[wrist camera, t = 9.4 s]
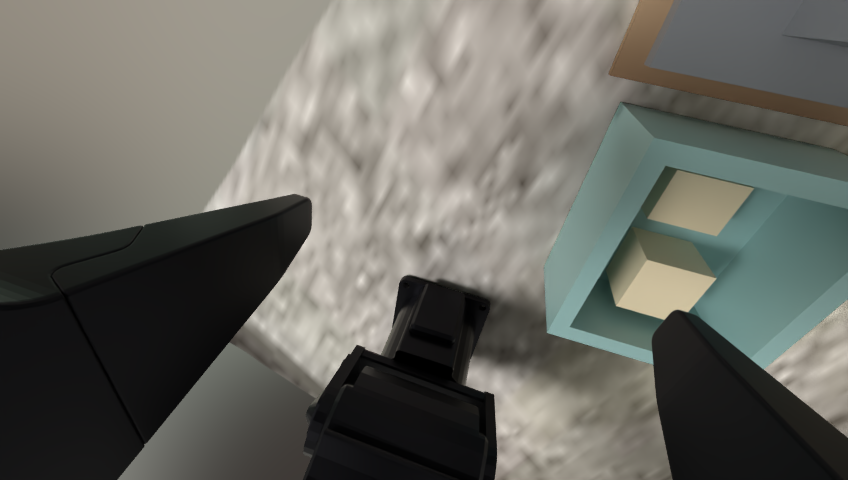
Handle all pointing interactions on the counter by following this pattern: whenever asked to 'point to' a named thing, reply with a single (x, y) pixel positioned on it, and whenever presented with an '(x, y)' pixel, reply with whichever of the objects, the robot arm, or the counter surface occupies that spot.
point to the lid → (760, 45)
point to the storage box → (700, 237)
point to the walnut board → (632, 67)
